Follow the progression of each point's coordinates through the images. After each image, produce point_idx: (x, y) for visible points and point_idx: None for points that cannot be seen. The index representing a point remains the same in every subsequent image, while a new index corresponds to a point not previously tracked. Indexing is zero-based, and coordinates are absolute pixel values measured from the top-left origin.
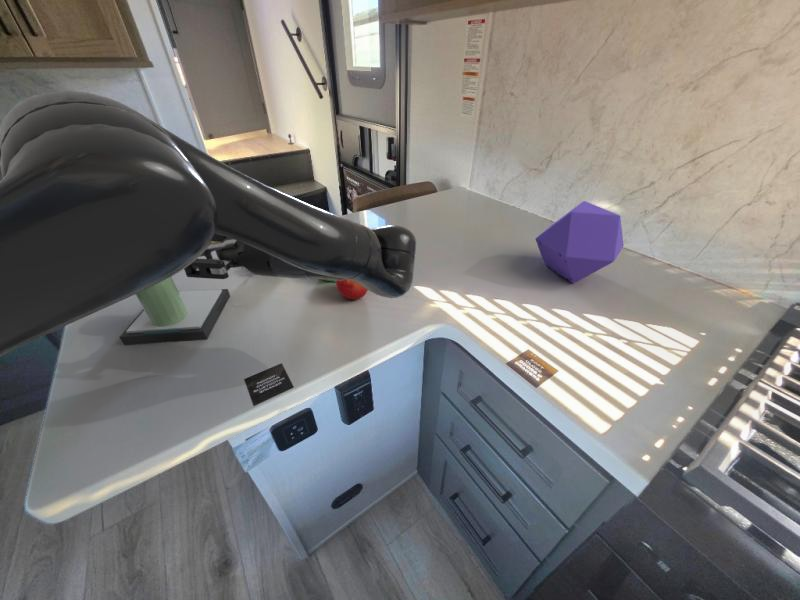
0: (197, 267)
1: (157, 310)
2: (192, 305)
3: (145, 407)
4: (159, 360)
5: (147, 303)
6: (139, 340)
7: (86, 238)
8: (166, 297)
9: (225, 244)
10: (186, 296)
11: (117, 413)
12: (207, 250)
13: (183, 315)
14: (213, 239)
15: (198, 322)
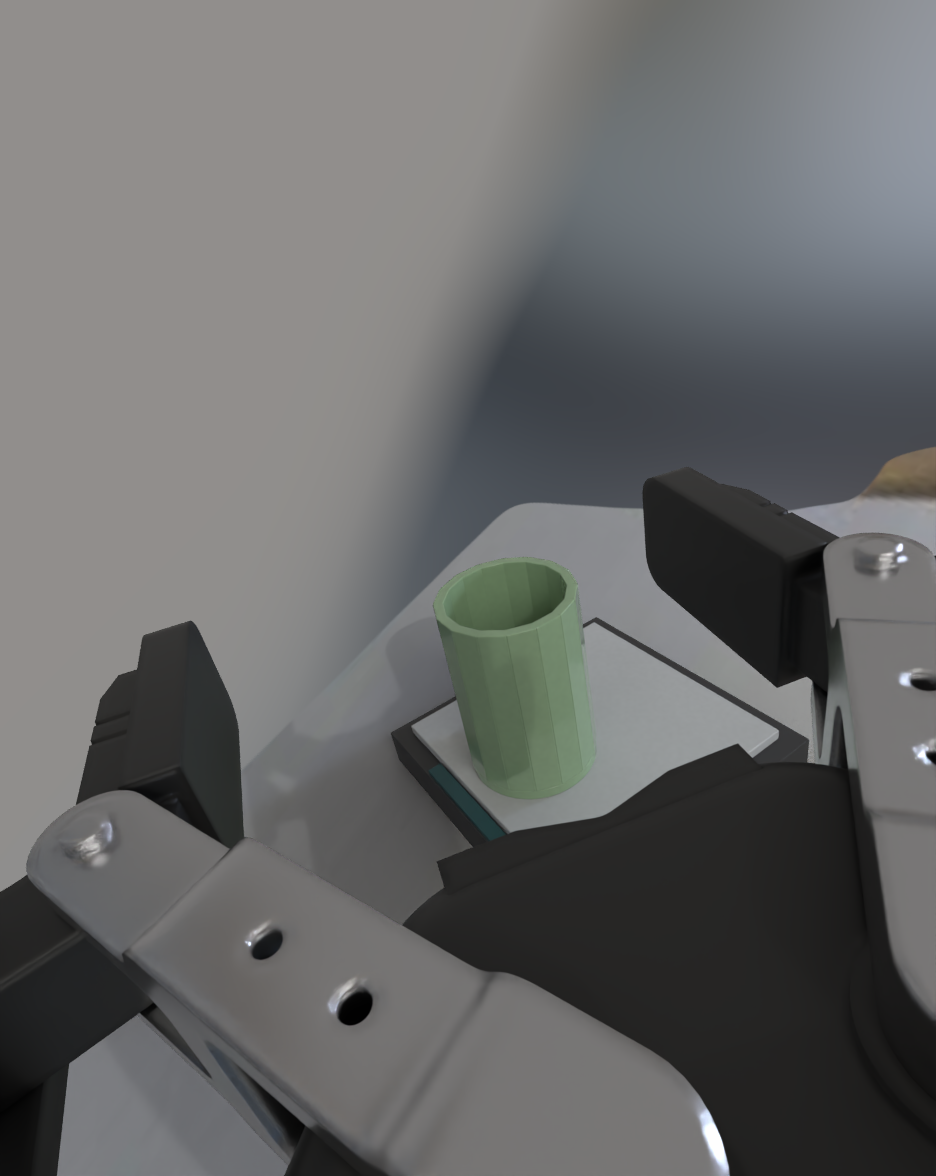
0: (115, 1029)
1: (475, 729)
2: (628, 747)
3: (176, 1133)
4: (390, 916)
5: (456, 690)
6: (421, 778)
7: None
8: (514, 702)
9: (384, 1172)
10: (644, 687)
11: (140, 1059)
12: (152, 987)
13: (560, 784)
14: (698, 603)
15: None
